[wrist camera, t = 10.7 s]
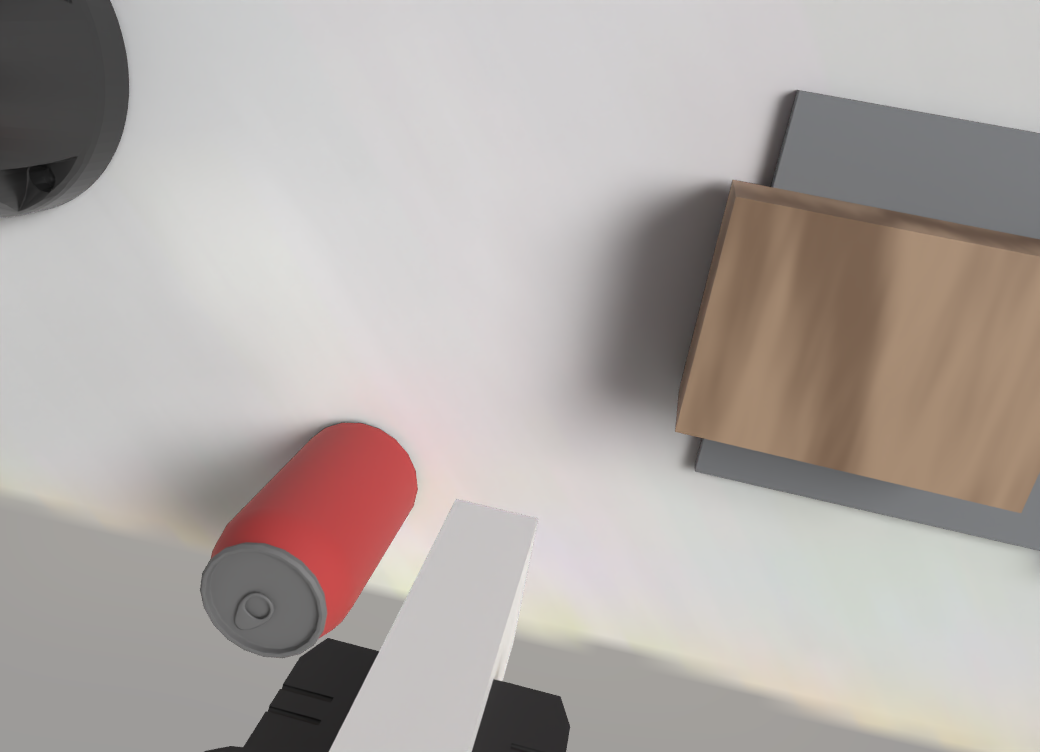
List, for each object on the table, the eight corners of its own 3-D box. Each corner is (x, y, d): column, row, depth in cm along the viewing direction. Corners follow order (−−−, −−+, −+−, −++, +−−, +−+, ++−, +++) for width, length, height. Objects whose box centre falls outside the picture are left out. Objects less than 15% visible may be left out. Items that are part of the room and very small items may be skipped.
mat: (694, 464, 42) (695, 486, 40) (797, 89, 36) (804, 92, 33) (1113, 560, 40) (1138, 589, 38) (1306, 180, 33) (1350, 189, 31)
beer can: (283, 470, 47) (159, 597, 36) (352, 393, 45) (242, 504, 33) (372, 547, 48) (278, 695, 37) (445, 475, 45) (368, 611, 34)
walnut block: (675, 431, 36) (1020, 513, 34) (735, 196, 32) (1128, 274, 30) (679, 387, 41) (982, 457, 39) (732, 179, 37) (1071, 245, 35)
